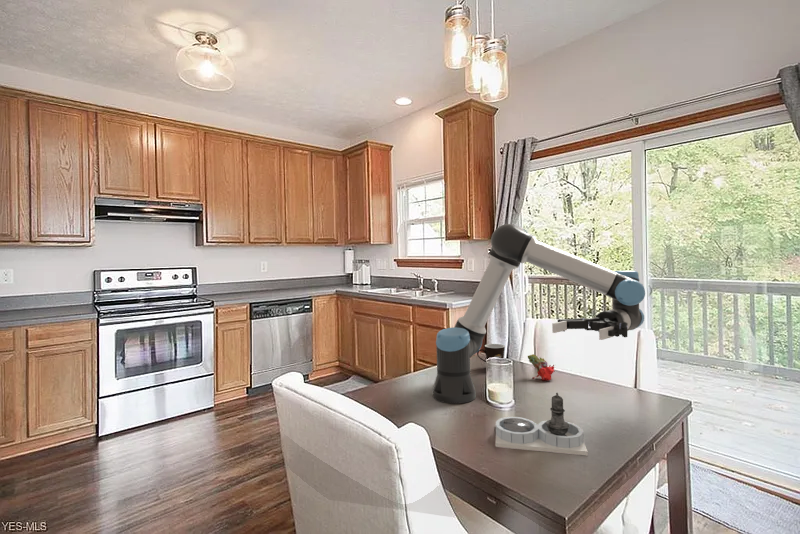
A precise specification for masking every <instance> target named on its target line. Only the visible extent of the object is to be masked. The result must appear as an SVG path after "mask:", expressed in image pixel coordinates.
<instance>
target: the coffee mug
mask: <svg viewBox="0 0 800 534" xmlns="http://www.w3.org/2000/svg"><path fill="white" fill-rule="evenodd" d="M505 348H506V346H505V345H504V344H500V343H488V344H485V345H484V349H483V348H480V349H479V351H478V352H477V353H476V355H477V357H478V358H479V359H480V361H483V362H484V363H486V361H487V359H488V358H489V357H499V358H505V350H506V349H505ZM482 351H483V352H484V354H485V357H486V360H485V359H483V358H482V357H480V355H479V353H480V352H482Z"/></svg>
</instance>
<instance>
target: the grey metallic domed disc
mask: <svg viewBox="0 0 800 534" xmlns="http://www.w3.org/2000/svg"><path fill="white" fill-rule="evenodd" d="M504 429H506V430H509V431H512V432H528V431H530V423H529V422H528V421H526V420H523V419H519V418H509V419H506V420H504Z"/></svg>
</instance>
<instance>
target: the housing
mask: <svg viewBox="0 0 800 534" xmlns="http://www.w3.org/2000/svg"><path fill="white" fill-rule="evenodd" d="M509 418H519V419H523V420H526V421H528V422H529V423H530V431H528V432H512V431H509V430H506V429H504V420H506V419H509ZM548 420H549V419H547V420H542V421H540V422H539V423H536V422H534V421H533V420H531V419H528V418H525V417H520V416H505V417H500V418H498V419H497V420H495V447H496V448H504V449H513V450H514V449H515V450H523V451H524V450H525V451H536V452H537V451H538V452H547V453H558V454H566V455H567V454H568V455H577V456H587V457H588V455H589V450H588V449H587V447H586V443H585V438H584V430H583V428H582V427H581V426H580V425H578V424H576V423H573V422H569V421H567V420H564V421H565V422H567V423H568V424H569V425H570V427H569V428H568V432H567V433H566V434H565V435H567V436H558V435H554V434H551V432H550V431H549V430H548V427H547V425H546V422H547V421H548Z"/></svg>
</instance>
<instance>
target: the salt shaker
mask: <svg viewBox="0 0 800 534" xmlns="http://www.w3.org/2000/svg"><path fill="white" fill-rule="evenodd" d="M549 410H550V411H551V413H550V414H551V415H550V416H551V418H550V419H547V420H548V421H547V422H546V425H547V427H548V430H549V431H550V432H551V434H554V435H558V436H567V435H565V434H566V433H567V432H568V428H569V427H570V425H569V424H568V423H567V422H568V421H567V422H565V421H566V420H565V419H564V416H565V415H564V414H565V413H564V412H565V411H566V410H565V409H564V399H563V397H562V396H560V395H559V393H558V392H556V393H555V395H553V396H552V397H551V407H550V409H549Z"/></svg>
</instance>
